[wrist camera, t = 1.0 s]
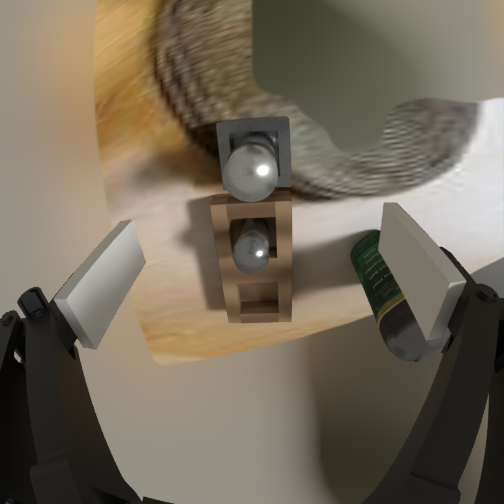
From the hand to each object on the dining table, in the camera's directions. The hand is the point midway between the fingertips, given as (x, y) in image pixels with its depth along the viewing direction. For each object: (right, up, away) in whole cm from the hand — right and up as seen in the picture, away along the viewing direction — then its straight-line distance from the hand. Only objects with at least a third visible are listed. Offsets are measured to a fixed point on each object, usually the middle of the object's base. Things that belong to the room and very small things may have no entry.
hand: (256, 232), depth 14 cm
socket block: (0, +12, +20) cm, 23 cm away
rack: (+1, -2, +28) cm, 28 cm away
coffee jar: (+20, -2, +27) cm, 34 cm away
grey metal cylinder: (0, +12, +19) cm, 22 cm away
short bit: (0, +2, +25) cm, 25 cm away
